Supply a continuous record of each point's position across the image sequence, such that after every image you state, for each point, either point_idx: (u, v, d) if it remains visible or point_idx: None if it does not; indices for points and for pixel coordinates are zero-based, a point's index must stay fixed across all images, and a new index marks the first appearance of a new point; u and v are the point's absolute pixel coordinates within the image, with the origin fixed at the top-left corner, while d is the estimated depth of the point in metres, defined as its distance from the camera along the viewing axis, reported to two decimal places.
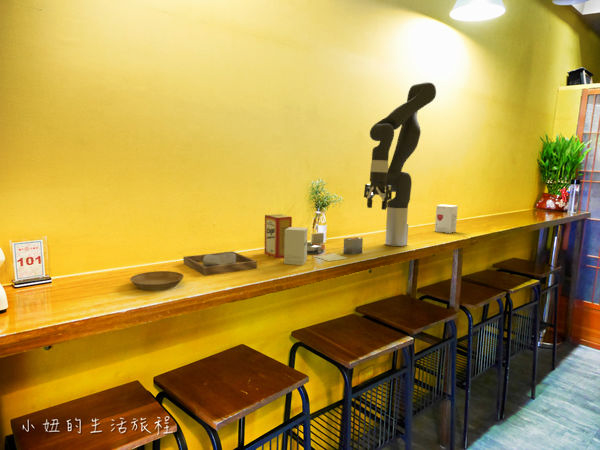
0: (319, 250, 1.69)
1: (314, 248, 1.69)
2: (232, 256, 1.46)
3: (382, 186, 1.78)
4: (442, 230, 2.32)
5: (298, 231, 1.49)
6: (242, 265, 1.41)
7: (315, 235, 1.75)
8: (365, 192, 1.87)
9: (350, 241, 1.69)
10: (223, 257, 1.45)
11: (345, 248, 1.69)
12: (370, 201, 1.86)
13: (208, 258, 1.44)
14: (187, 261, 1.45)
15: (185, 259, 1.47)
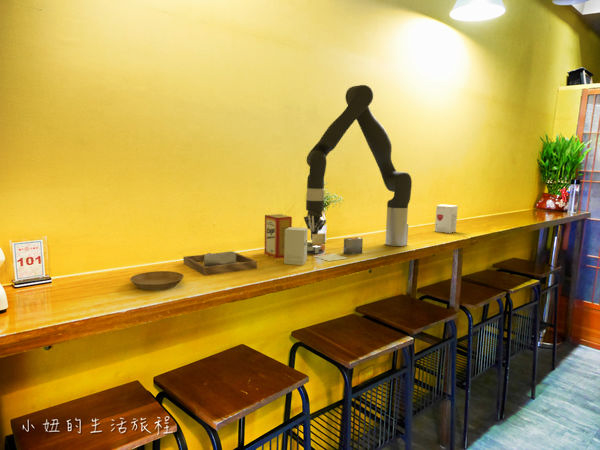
0: (316, 250, 1.68)
1: (312, 248, 1.69)
2: (233, 255, 1.48)
3: (317, 216, 1.73)
4: (442, 230, 2.32)
5: (298, 231, 1.49)
6: (242, 265, 1.41)
7: (316, 235, 1.74)
8: (307, 224, 1.80)
9: (350, 241, 1.69)
10: (224, 256, 1.47)
11: (345, 248, 1.69)
12: None
13: (209, 257, 1.46)
14: (187, 261, 1.45)
15: (185, 259, 1.47)
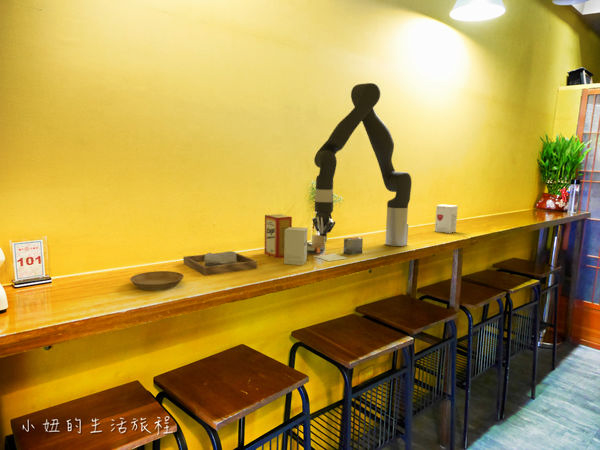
0: None
1: None
2: (233, 255, 1.48)
3: (327, 218, 1.68)
4: (442, 230, 2.32)
5: (298, 231, 1.49)
6: (242, 265, 1.41)
7: (314, 236, 1.71)
8: (315, 226, 1.75)
9: (350, 241, 1.69)
10: (224, 256, 1.48)
11: (345, 248, 1.69)
12: (322, 235, 1.73)
13: (209, 257, 1.46)
14: (187, 261, 1.45)
15: (185, 259, 1.47)
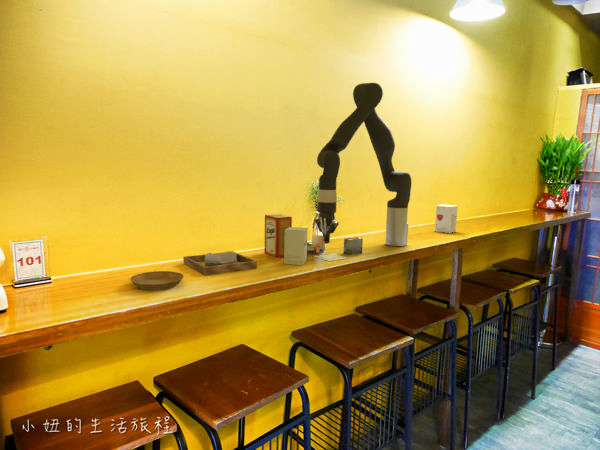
0: None
1: None
2: (233, 254, 1.48)
3: (330, 218, 1.67)
4: (442, 230, 2.32)
5: (298, 231, 1.49)
6: (242, 265, 1.41)
7: (314, 236, 1.71)
8: (318, 226, 1.73)
9: (350, 241, 1.69)
10: (224, 256, 1.48)
11: (345, 248, 1.69)
12: None
13: (210, 257, 1.46)
14: (187, 261, 1.45)
15: (185, 259, 1.47)
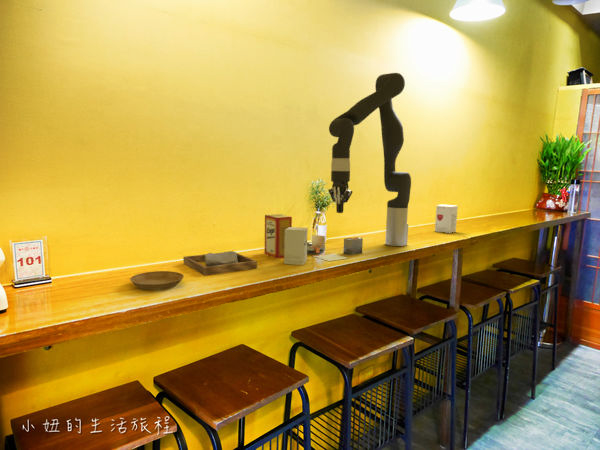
0: None
1: None
2: (234, 254, 1.49)
3: (344, 187, 1.66)
4: (442, 230, 2.32)
5: (298, 231, 1.49)
6: (242, 265, 1.41)
7: (314, 236, 1.71)
8: (332, 196, 1.72)
9: (350, 241, 1.69)
10: (225, 255, 1.48)
11: (345, 248, 1.69)
12: None
13: (210, 257, 1.46)
14: (187, 261, 1.45)
15: (185, 259, 1.47)
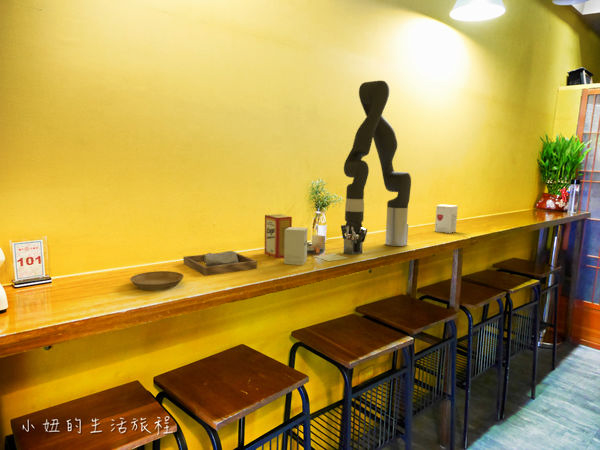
0: None
1: None
2: (234, 254, 1.49)
3: (358, 227, 1.68)
4: (442, 230, 2.32)
5: (298, 231, 1.48)
6: (242, 265, 1.41)
7: (314, 236, 1.71)
8: (343, 234, 1.75)
9: (350, 241, 1.69)
10: (225, 255, 1.48)
11: (345, 248, 1.69)
12: None
13: (211, 257, 1.46)
14: (187, 261, 1.45)
15: (185, 259, 1.47)
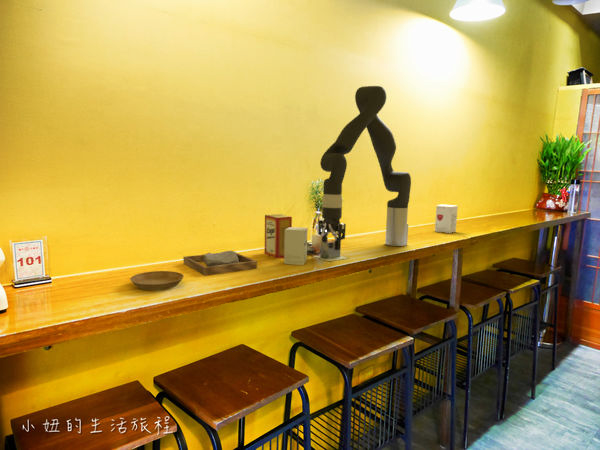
0: None
1: None
2: (234, 254, 1.50)
3: (335, 223, 1.58)
4: (442, 230, 2.32)
5: (298, 231, 1.49)
6: (242, 265, 1.41)
7: (314, 236, 1.71)
8: (319, 229, 1.66)
9: (327, 244, 1.59)
10: (225, 255, 1.49)
11: (322, 252, 1.60)
12: (325, 239, 1.65)
13: (211, 257, 1.46)
14: (187, 261, 1.45)
15: (185, 259, 1.47)
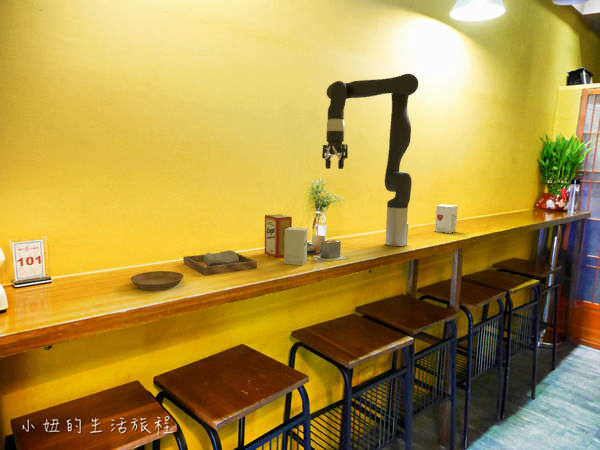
0: None
1: None
2: (234, 253, 1.50)
3: (338, 145, 1.77)
4: (442, 230, 2.32)
5: (298, 231, 1.49)
6: (242, 265, 1.41)
7: (314, 236, 1.71)
8: (323, 153, 1.85)
9: (327, 244, 1.59)
10: (226, 255, 1.49)
11: (322, 252, 1.60)
12: (328, 162, 1.85)
13: (212, 257, 1.47)
14: (187, 261, 1.45)
15: (185, 259, 1.47)
